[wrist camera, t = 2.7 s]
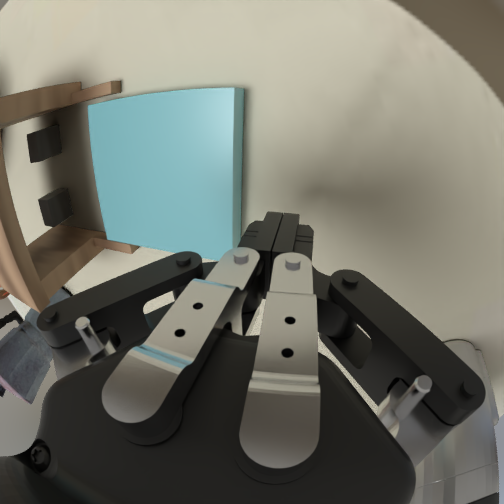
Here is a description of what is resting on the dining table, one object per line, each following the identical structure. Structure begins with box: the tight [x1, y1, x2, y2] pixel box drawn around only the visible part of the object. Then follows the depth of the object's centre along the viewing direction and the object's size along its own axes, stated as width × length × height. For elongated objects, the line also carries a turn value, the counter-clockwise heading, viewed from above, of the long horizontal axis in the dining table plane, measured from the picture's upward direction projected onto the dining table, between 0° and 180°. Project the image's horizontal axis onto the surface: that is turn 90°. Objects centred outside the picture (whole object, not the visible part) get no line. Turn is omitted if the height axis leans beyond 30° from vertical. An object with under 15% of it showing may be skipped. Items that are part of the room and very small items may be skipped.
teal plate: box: [88, 88, 244, 261], centre depth 19 cm, size 12×12×2 cm
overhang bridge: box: [0, 81, 139, 313], centre depth 17 cm, size 14×17×10 cm
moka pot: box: [0, 288, 71, 404], centre depth 27 cm, size 10×15×20 cm, turn 178°
